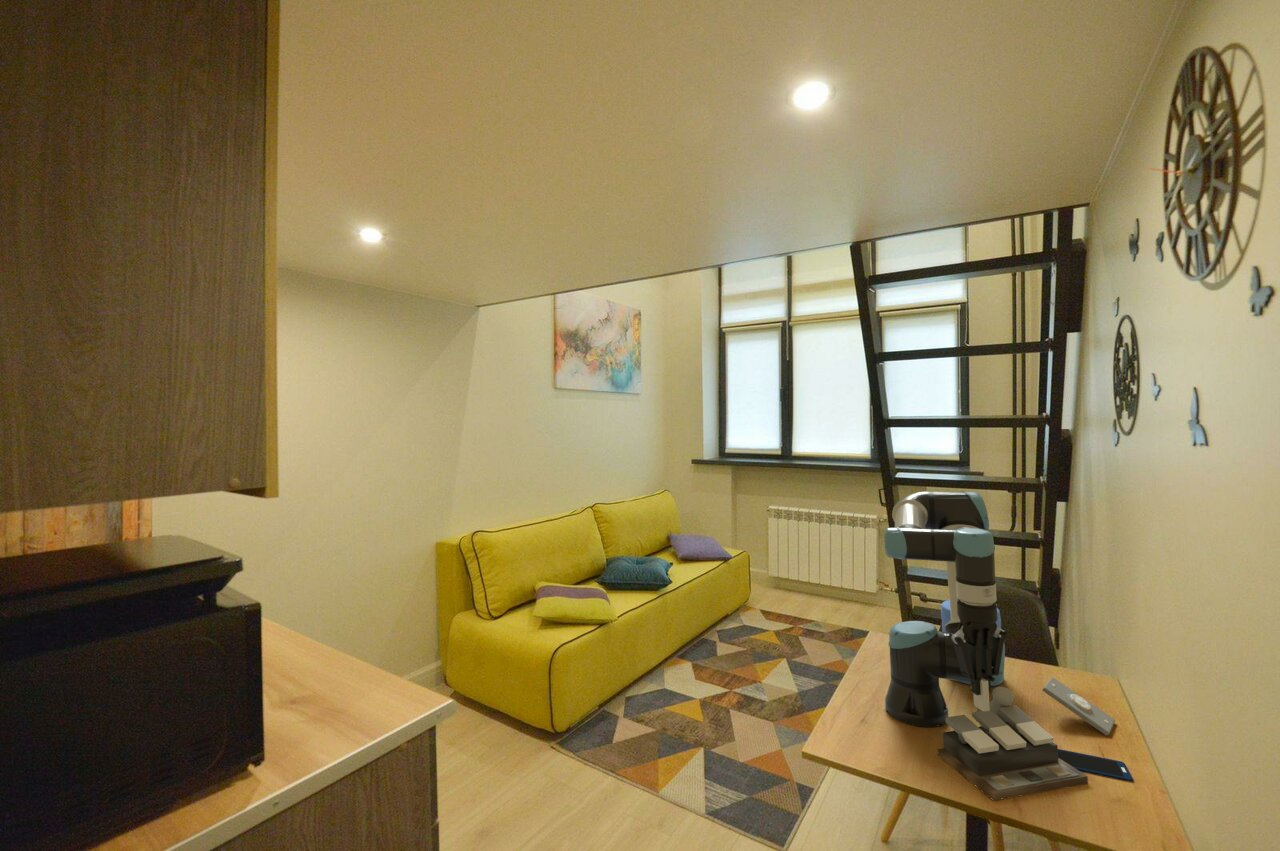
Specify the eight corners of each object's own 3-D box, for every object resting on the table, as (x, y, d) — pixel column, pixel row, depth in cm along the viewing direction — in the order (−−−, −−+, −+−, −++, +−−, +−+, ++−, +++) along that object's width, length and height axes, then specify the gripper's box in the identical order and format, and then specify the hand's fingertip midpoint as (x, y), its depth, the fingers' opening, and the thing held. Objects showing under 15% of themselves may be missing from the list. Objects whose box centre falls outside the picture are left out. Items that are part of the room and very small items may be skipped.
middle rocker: (970, 721, 128) (972, 712, 127) (988, 718, 129) (990, 709, 128) (1005, 755, 118) (1007, 745, 118) (1024, 752, 119) (1026, 742, 119)
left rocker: (945, 727, 127) (945, 717, 126) (963, 724, 128) (963, 714, 127) (978, 759, 117) (979, 748, 117) (997, 756, 118) (999, 745, 117)
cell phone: (1134, 784, 114) (1134, 780, 114) (1052, 766, 121) (1052, 763, 121) (1124, 765, 121) (1124, 761, 121) (1047, 749, 128) (1047, 746, 128)
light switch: (1112, 730, 130) (1045, 684, 140) (1098, 747, 133) (1033, 701, 142) (1117, 717, 136) (1053, 673, 146) (1104, 733, 138) (1042, 689, 148)
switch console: (937, 755, 127) (936, 732, 127) (1022, 741, 131) (1021, 719, 131) (993, 800, 111) (992, 774, 111) (1087, 783, 115) (1086, 758, 115)
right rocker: (996, 717, 129) (998, 708, 129) (1013, 714, 130) (1015, 705, 130) (1033, 750, 120) (1035, 741, 119) (1051, 747, 121) (1053, 737, 120)
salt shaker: (997, 741, 133) (1006, 707, 127) (976, 721, 137) (984, 688, 131) (1014, 730, 134) (1024, 696, 128) (992, 711, 139) (1001, 678, 133)
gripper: (963, 609, 114) (969, 721, 114) (1016, 603, 116) (1022, 712, 116) (937, 598, 121) (943, 703, 122) (988, 592, 124) (993, 695, 124)
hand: (981, 707), depth 119 cm, fingers closed
